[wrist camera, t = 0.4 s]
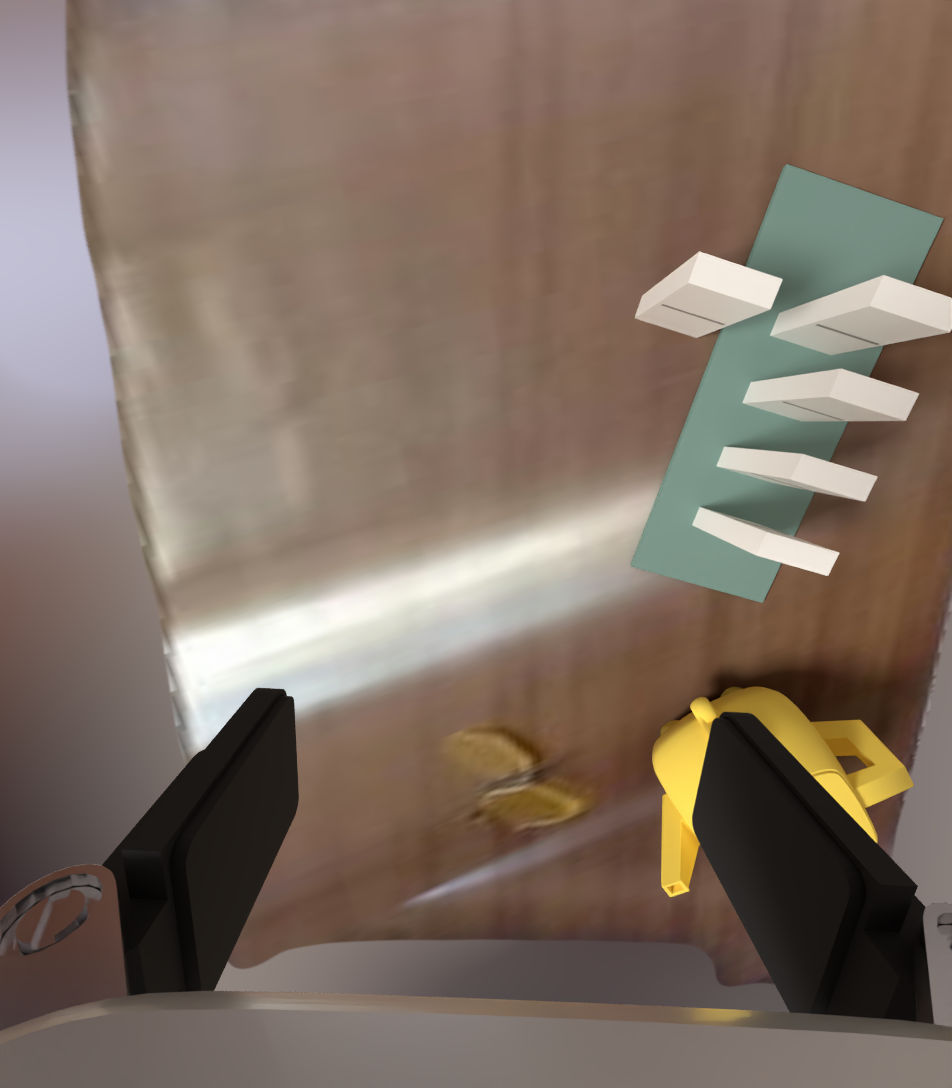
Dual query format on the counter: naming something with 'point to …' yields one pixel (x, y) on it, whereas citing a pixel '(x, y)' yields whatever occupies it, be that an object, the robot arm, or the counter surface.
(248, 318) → the counter surface
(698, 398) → the runner mat
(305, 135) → the counter surface
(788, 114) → the counter surface
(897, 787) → the teapot
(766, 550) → the domino
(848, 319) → the domino
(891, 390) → the domino
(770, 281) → the domino
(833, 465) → the domino
